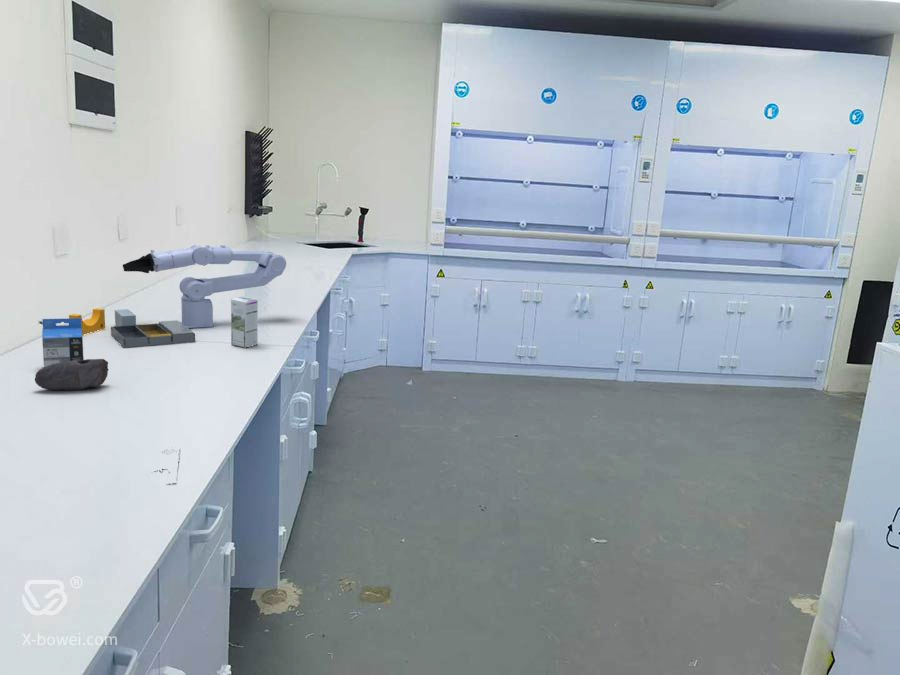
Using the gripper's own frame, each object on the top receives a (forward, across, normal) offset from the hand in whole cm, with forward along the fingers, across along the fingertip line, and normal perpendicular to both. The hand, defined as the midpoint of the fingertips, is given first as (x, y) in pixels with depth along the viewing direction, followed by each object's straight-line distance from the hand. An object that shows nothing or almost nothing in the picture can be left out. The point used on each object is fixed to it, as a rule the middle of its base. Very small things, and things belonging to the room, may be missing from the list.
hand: (125, 267), depth 208 cm
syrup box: (-24, +24, +30) cm, 45 cm away
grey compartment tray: (-1, +9, +23) cm, 24 cm away
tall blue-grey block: (+3, -8, +19) cm, 20 cm away
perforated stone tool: (+25, +50, +28) cm, 63 cm away
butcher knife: (+18, +100, +40) cm, 110 cm away
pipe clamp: (+15, -5, +18) cm, 23 cm away
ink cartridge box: (+25, +32, +24) cm, 47 cm away
